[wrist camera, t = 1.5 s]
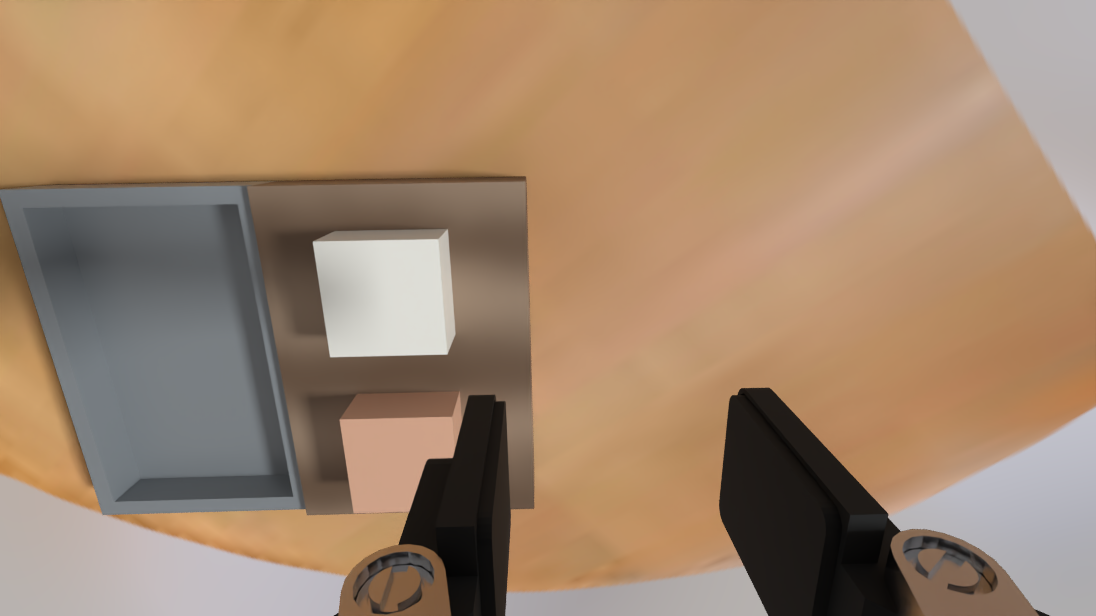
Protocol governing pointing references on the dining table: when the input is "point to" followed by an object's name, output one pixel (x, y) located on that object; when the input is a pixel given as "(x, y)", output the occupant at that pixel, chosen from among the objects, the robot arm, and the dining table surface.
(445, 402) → the terracotta tile
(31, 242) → the box
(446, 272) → the white block
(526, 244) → the walnut board
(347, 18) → the dining table surface
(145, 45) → the dining table surface
